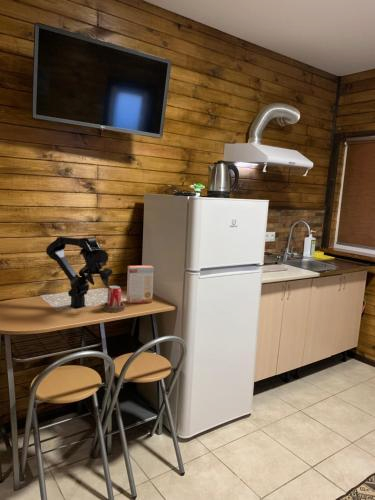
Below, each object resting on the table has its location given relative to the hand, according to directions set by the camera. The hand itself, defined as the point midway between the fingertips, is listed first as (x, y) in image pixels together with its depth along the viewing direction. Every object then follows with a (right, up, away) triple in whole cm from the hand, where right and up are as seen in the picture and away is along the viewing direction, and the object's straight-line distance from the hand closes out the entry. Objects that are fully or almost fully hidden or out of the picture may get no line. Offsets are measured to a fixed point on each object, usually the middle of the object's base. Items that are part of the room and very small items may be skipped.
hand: (100, 285), depth 206 cm
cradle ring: (+8, -12, -2) cm, 15 cm away
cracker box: (+19, -11, +15) cm, 27 cm away
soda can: (+7, -13, -1) cm, 15 cm away
